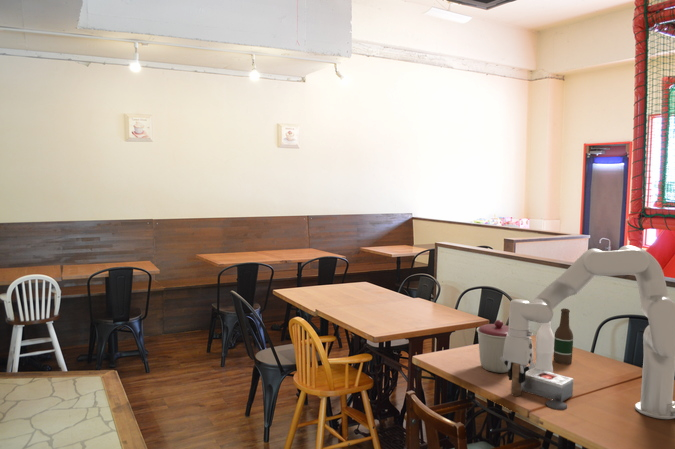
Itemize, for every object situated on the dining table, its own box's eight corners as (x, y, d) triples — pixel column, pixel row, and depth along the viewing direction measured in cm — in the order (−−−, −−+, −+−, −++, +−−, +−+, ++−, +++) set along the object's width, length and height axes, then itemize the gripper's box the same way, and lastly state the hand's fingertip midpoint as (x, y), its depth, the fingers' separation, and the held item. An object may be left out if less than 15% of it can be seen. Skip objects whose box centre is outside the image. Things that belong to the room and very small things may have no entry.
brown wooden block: (522, 394, 203) (524, 357, 202) (517, 396, 201) (519, 359, 200) (513, 391, 206) (515, 355, 204) (509, 393, 203) (511, 357, 202)
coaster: (570, 405, 193) (570, 404, 193) (562, 411, 188) (562, 409, 188) (551, 400, 198) (551, 398, 198) (542, 405, 193) (542, 403, 193)
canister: (475, 360, 242) (477, 313, 240) (517, 364, 237) (520, 317, 235) (474, 373, 224) (476, 323, 223) (520, 378, 220) (522, 327, 218)
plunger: (553, 383, 205) (554, 377, 205) (549, 386, 202) (549, 379, 202) (543, 380, 208) (543, 374, 208) (538, 383, 205) (539, 377, 205)
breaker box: (572, 395, 203) (573, 378, 203) (561, 402, 196) (562, 385, 196) (531, 383, 214) (532, 367, 214) (519, 389, 207) (520, 373, 207)
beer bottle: (573, 361, 243) (576, 308, 241) (570, 366, 236) (573, 312, 234) (554, 357, 247) (557, 306, 245) (551, 362, 241) (554, 309, 239)
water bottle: (553, 381, 217) (557, 320, 215) (535, 379, 219) (538, 319, 217) (550, 375, 224) (553, 316, 222) (532, 373, 226) (535, 314, 224)
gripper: (544, 335, 198) (542, 384, 200) (503, 326, 210) (501, 372, 211) (535, 339, 193) (532, 389, 194) (493, 330, 205) (491, 377, 206)
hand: (516, 380), depth 203 cm, fingers closed on brown wooden block, 3 cm apart
